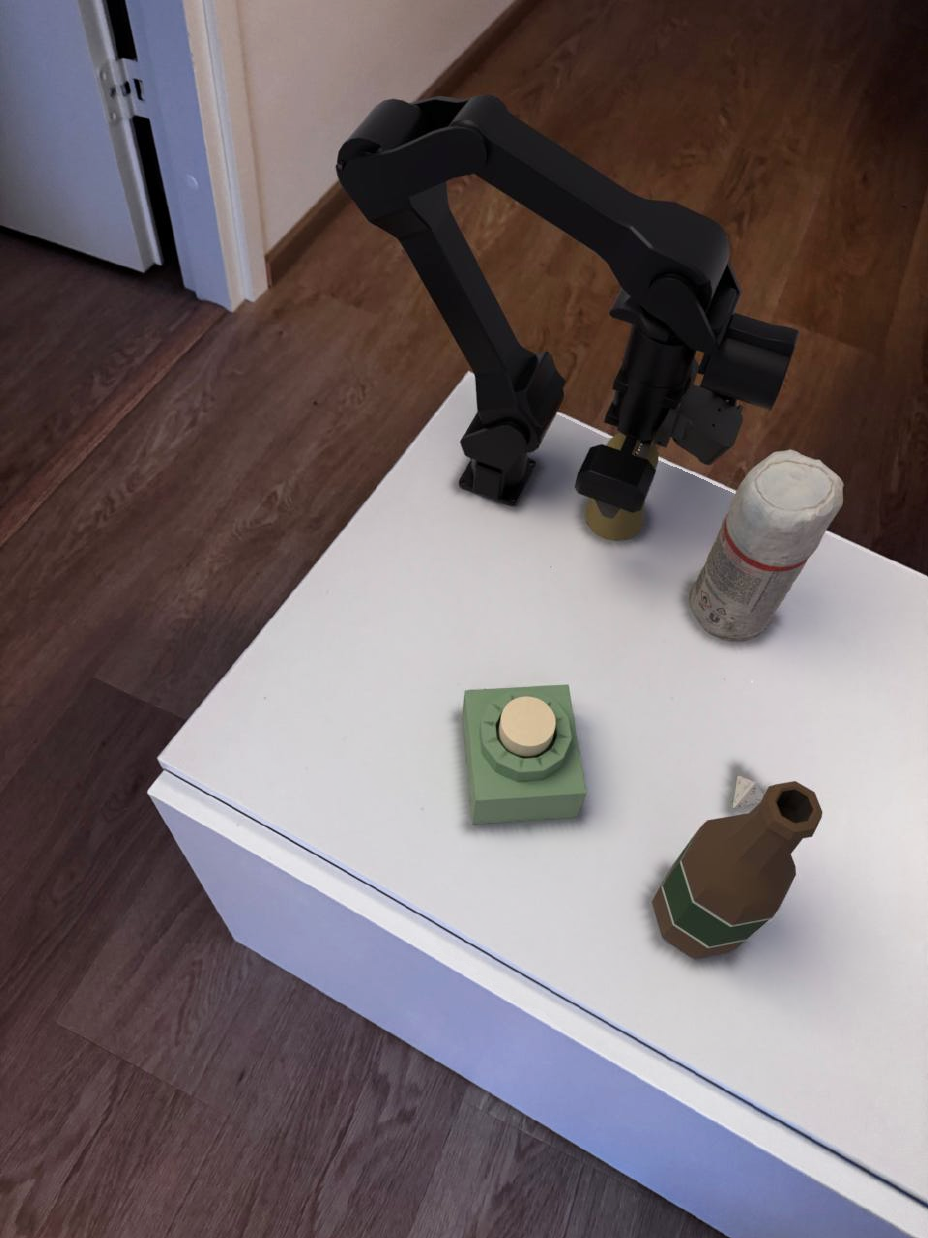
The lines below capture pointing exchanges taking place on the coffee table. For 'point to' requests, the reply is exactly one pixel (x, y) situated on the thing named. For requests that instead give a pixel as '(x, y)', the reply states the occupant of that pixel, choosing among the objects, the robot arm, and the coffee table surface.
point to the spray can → (764, 543)
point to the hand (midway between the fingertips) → (622, 482)
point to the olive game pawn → (624, 520)
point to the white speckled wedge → (746, 792)
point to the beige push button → (527, 726)
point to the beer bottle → (735, 873)
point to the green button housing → (521, 760)
